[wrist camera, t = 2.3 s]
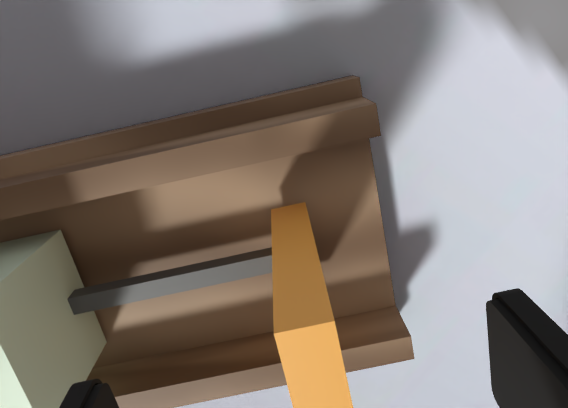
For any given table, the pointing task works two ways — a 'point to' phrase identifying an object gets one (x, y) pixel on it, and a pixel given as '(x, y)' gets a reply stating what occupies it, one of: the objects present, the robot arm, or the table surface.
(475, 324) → the table surface
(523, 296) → the robot arm
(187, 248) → the shelf lane
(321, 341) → the lane block
